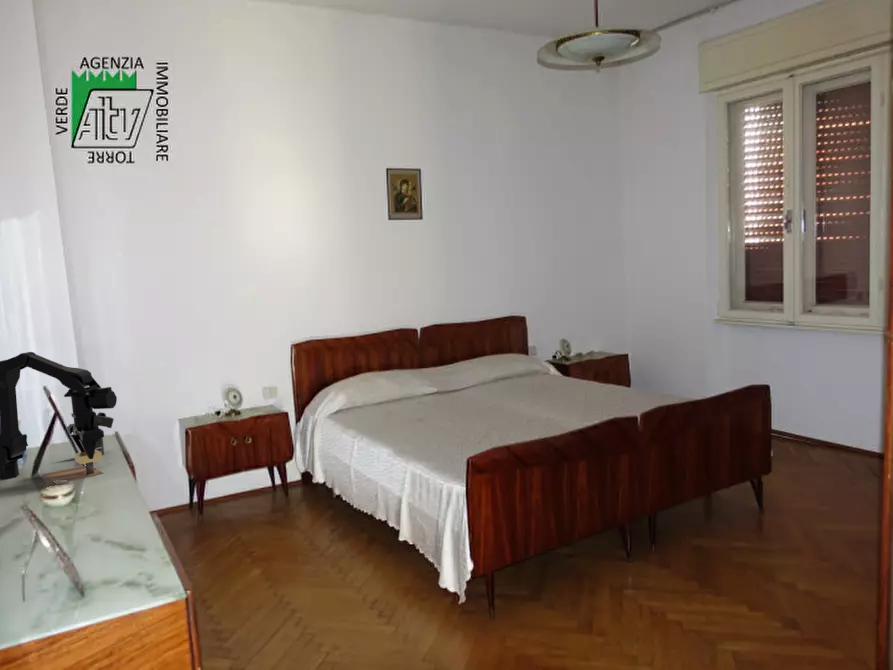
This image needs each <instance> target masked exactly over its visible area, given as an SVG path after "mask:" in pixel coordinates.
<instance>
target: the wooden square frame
mask: <svg viewBox="0 0 893 670" xmlns="http://www.w3.org/2000/svg"><path fill="white" fill-rule="evenodd" d="M73 455H74V461H75V462H76V463H78V464H79V465H85V463H89V462H93V463H94V462H98V461H102V460H103V455H102V452H100V451H98V450H96V449H95V451H94V457H93V459H89V458H88V456H87V454H86V452H81V451H80V452H77V453H74V454H73Z"/></svg>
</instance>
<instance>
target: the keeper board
mask: <svg viewBox="0 0 893 670" xmlns="http://www.w3.org/2000/svg"><path fill="white" fill-rule="evenodd" d="M83 465H86V466H83ZM41 474H42V476H44V478H46V479H48V480H49V481H50V482H51V483H53V481H56V480H67V481H70V482H75V481H78V480H83V479H86V478H91V477H95V476H99V475H103V474H105V473H104V472H103V471H100V469H97V468H96V467H94V462H89V463H85V464H79V465H77V466H72V467H67V468H63V469H59V470H55V471H50V472H45V473H41Z"/></svg>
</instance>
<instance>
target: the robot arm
mask: <svg viewBox="0 0 893 670" xmlns="http://www.w3.org/2000/svg"><path fill="white" fill-rule="evenodd" d="M26 368H30V369H32V370H34V371H37V372H39V373H42V374H44V375H47V376H49V377H51V378H54V379H56V380H57V381H59V382H60V384H61V385H63V386H64V387H66V388H68V390H67V392H66V393H65V394H64V395H63V397H64V398H70V399H71V407H72V408H71V409H72V413H70V415H71V417H72V419H73V423H69V425H68V426H67V427H66V429H67V430H66V431H67V434H69V435H70V437H71V439H72V440H73V442H74V443H75V445H76V446H77V448H78V450H79V451H80V452H86V454H87V456H88V458H89V459H93V457H94V451H95V446H96V442H97V441H98V440H99V439H101V438H102V437H103V438H104V437H105V433H104V430H103V429H101V428H98V426H99V427H105V428H109V429H112V427H113V423H114V419H115V418H113V417H110V416H107V414H106V413H105V412H98V413H96V412H95V411H94V410H106V409H107V410H108V409H114V408H115V407H116V404H117V402H118V401H117V399H118V397H117V395H116V393H115V391H113V390H112V387H111V386H107V387H102V386H101V385H100V384H99V383H98V382H97V380H96V379H95V378H94V377H93V375H92V373H91V371H89V370H88V369H85V368H80V367H70V366H65V365H63V364H61V363H58V362H55V361H53V360H51V359H48V358H45V357H43V356H41V355H38V354H36V353H35V352H34V351H27V352H23V353H21V352H20V353H19V354H18V355H16V356H14V357H11V358H8V359H3V360H0V480H11V479H15V478H17V477H18V476H20V468H19V460H21V459H23V458H24V453H25V452H26V450H27V447H29V444H28V435H27V434H26V433H24V434H23V433H22V432H21V431H20V428H19V427H20V426H19V416H18V415H19V414H18V400H17V388H16V387H17V385H18V382H19V380H20V379H21V371H22V370H23V369H26Z"/></svg>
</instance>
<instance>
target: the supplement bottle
mask: <svg viewBox="0 0 893 670" xmlns="http://www.w3.org/2000/svg"><path fill="white" fill-rule="evenodd" d="M99 427H100V426H98V428H99ZM95 449H96V450H98V451H100V452H102V456H104V455H105V445H104V437H102V438H101V439H99V440H98V441H97V442H96V446H95Z"/></svg>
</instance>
